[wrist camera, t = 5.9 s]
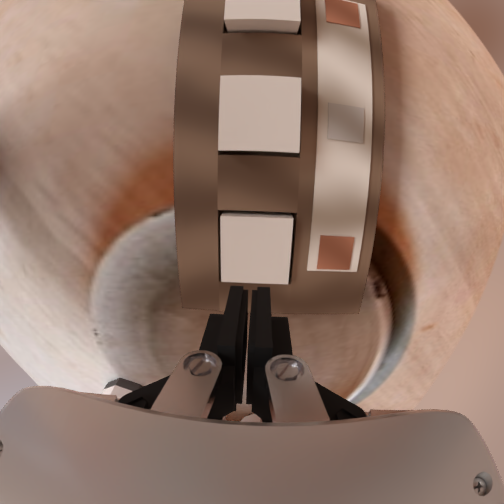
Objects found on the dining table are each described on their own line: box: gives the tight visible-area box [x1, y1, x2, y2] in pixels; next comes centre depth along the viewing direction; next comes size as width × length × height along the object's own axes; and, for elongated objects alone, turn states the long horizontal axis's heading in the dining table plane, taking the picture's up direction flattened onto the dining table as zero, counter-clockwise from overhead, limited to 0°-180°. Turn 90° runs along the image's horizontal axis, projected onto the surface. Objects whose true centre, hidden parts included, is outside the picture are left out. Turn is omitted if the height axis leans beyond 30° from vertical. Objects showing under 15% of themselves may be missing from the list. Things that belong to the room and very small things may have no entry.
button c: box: [224, 0, 301, 35], centre depth 13 cm, size 5×5×2 cm
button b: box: [218, 75, 301, 153], centre depth 16 cm, size 5×5×2 cm
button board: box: [173, 0, 385, 314], centre depth 18 cm, size 30×15×3 cm, turn 178°
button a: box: [220, 210, 293, 284], centre depth 21 cm, size 5×5×2 cm
